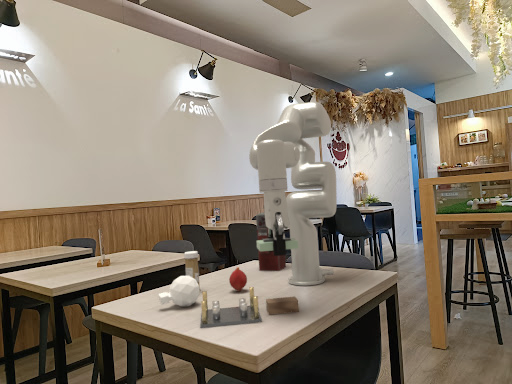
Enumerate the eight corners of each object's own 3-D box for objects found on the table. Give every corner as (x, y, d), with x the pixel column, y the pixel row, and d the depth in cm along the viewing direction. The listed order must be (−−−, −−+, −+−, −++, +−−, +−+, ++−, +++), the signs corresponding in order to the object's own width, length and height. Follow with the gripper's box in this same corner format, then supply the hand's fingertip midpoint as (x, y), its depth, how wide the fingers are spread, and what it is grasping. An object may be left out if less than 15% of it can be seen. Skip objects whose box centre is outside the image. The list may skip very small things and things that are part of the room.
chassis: (256, 307, 107) (254, 286, 107) (261, 321, 95) (260, 297, 95) (201, 313, 105) (200, 291, 105) (200, 327, 93) (198, 303, 93)
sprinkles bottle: (202, 291, 129) (200, 251, 129) (189, 294, 126) (187, 253, 126) (196, 289, 132) (194, 250, 133) (184, 291, 130) (182, 252, 130)
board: (292, 244, 106) (291, 235, 106) (298, 248, 99) (297, 238, 99) (256, 247, 105) (256, 238, 105) (260, 251, 98) (259, 241, 98)
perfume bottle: (194, 292, 120) (157, 304, 115) (192, 266, 117) (154, 277, 112) (205, 306, 113) (166, 320, 108) (203, 279, 110) (163, 292, 105)
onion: (226, 292, 126) (224, 267, 126) (238, 288, 130) (237, 264, 130) (238, 294, 122) (237, 269, 122) (251, 290, 126) (249, 266, 126)
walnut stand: (295, 307, 105) (295, 296, 105) (298, 311, 101) (298, 300, 101) (266, 310, 104) (266, 299, 104) (268, 314, 100) (268, 303, 100)
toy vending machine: (257, 271, 156) (252, 203, 156) (266, 266, 166) (262, 201, 167) (278, 272, 153) (273, 201, 153) (286, 266, 163) (282, 200, 163)
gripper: (294, 184, 94) (298, 257, 94) (280, 186, 111) (284, 247, 111) (263, 186, 93) (268, 259, 93) (255, 188, 111) (259, 249, 111)
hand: (277, 252), depth 102 cm, fingers closed on board, 7 cm apart
